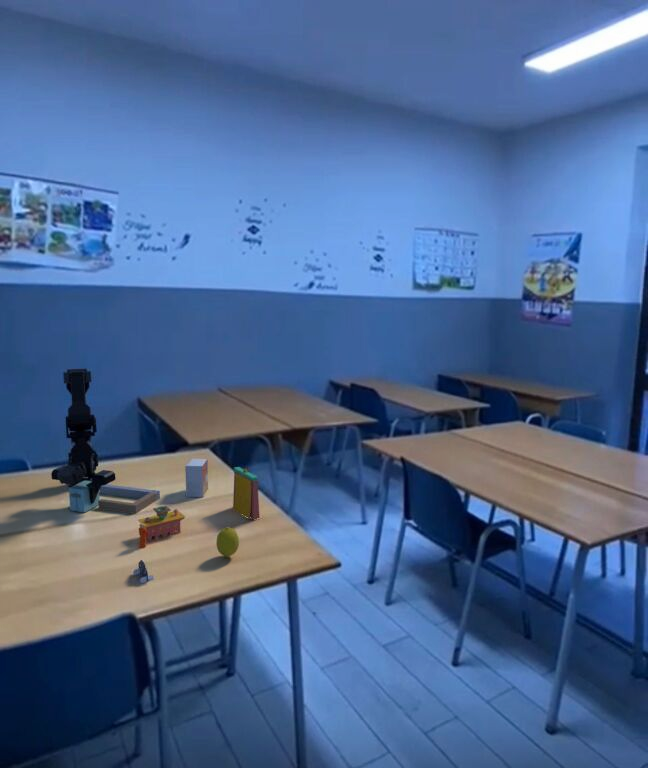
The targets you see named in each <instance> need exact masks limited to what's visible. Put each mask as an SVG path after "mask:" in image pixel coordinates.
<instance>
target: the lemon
mask: <svg viewBox="0 0 648 768" xmlns="http://www.w3.org/2000/svg"><path fill="white" fill-rule="evenodd" d="M216 536H217V537H216V549H217V551H218V552H219V554H221V555H222V556H224V557H226V558H230V557H231V556H233V555H234V554H236V552H237V551H238V548H239V546H240V539H239V534H238V533H237V531H236V530H235V529H233V528H232V527H229V526H226V527H225V528H222V529H220V531H219V532H218V535H216Z"/></svg>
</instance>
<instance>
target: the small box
mask: <svg viewBox="0 0 648 768" xmlns="http://www.w3.org/2000/svg"><path fill="white" fill-rule="evenodd" d="M208 464H209V463H208V459H207V458H206V459H205V458H191V459H190V460H189V462H188V463H187V464H186V465H185V466H184V467H185V470H184V471H185V492H186V494H185V495H186V496H185V497H186V498H203V497H205V495H206V494H207V491H209V470H208V469H209V466H208Z"/></svg>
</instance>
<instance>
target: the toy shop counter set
mask: <svg viewBox="0 0 648 768" xmlns="http://www.w3.org/2000/svg"><path fill="white" fill-rule="evenodd" d="M233 469H234V470H233V472H234V473H233V474H234V475H233V499H232V504H233V505H232V510H233V509H234V510H233V511H235V512H236V511H237V512H236V513H238V512H239V513H240V514H239V513H238V514H239V515H241V514H243V515H244V516H246V517H248V518H249V520H252V519H257V518H260V504H259V503H260V502H259V484H258V483H259V482H258V480H259V476H257V475H255V474H253V473H251V472H249V471H248V469H247V468H244V469H243V468H242V467H240V466H237V467H233ZM152 510H153V511H154V512H155V513H156V514H155V515H154V516H153V515H152V516H149V517H148V516H147V517H144V518H140V519H138V520H137V521H138V522H139V523H140V524H139V528H138V533H139V534H138V535H139V542H138V544H139V546H138V549H145V548H146V547H147V546H146V545H147V541H148V542H150V541H152V538H154V539H156V540H158V539H159V538H160V535H161V536H162V538H165V537H167V534H168V533H169V535H170V536H173V535H174V534H175V532H176V533H178V534H180V533H182V532H181V521H182V520H184V519H185V518H186V516H185V515H184V514H182V512H180V511H179V510H178V509H176V508H175V509H174V510H173V511H171V509H170V508H169V507H168V506H167V505H162V506H158V507H154V508H152ZM244 516H243V517H244ZM250 517H251V518H252V519H250Z"/></svg>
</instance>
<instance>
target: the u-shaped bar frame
mask: <svg viewBox="0 0 648 768" xmlns="http://www.w3.org/2000/svg"><path fill="white" fill-rule="evenodd" d="M160 493H161V491H160V490H156V489H147V488H140V487H138V488H137V487H132V486H131V487H130V486H124V485H123V486H122V485H113V484H109V483H108V484H106V485H102V486H101V488H100V490H99V494H102V495H111V496H119V497H124V498H125V497H126V498H132V499H133V498H135V499H137V500H135V501H134V502H128V501H119V500H113V499H112V500H111V499H106V498H105V499H104V498H101V499H100V498H99V501H98V505H97V506H98V509H100V510H106V511H107V510H108V511H113V512H122V513H129V514H135V515H136V514H138V513H139V512H141V511H143V510H144V509H145V508H147V507H148V506H149V507H150V506H151V505H152V504H153V503H155V502H157V501H158V500H159V499H161V494H160Z"/></svg>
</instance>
